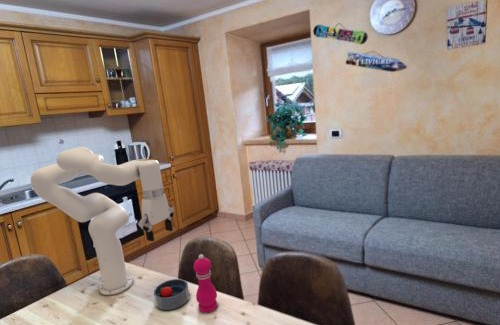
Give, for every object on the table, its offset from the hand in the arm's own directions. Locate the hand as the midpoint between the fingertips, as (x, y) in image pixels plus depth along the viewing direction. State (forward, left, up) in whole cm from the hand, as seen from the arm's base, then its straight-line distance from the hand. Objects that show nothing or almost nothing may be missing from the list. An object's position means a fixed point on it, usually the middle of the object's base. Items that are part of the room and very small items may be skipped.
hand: (160, 235), depth 122 cm
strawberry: (+8, -6, -20) cm, 23 cm away
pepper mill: (+23, -4, -22) cm, 32 cm away
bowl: (+8, -6, -22) cm, 24 cm away
